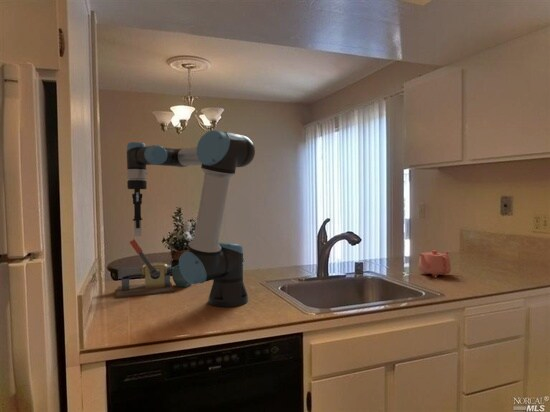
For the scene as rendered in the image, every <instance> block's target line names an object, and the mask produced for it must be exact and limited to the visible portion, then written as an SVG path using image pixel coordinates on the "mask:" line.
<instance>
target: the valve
mask: <svg viewBox="0 0 550 412" xmlns="http://www.w3.org/2000/svg"><path fill="white" fill-rule="evenodd" d="M150 264H151V265H152V266H153V268H154V269H157V270H159V271H160V277H159V278H158V279H152V278H151V276H150V273H151V271H150V270H149V268H148V267H147V265H146V264H145V263H144V264H141V266H135V267H122V268H117V279H118V280H119V279H120V280H121V286H122V291H125V290H129V289H130V285H131V284H130V279H133V278H141V279H142V280H143V279H144V284H145V289H151V288H162V287H166V286H170V282H171V275H172V271H171V268H172V267H171V264H167V263H164V262H161V261H160V262H150Z"/></svg>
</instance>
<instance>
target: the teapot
mask: <svg viewBox="0 0 550 412" xmlns="http://www.w3.org/2000/svg"><path fill="white" fill-rule="evenodd" d="M449 253H450V250H446V251H444V253H441V252H438V250H436V249H433V250H431V251H429V252H427V251H426V252H421V253H418V255H419V260H418V270H419V271H420V272H422V273H424V274H428V275H429V274H430V275H432V276H439V275H440V276H441V275H446V276H447V274H450V273H451V267H452V266H451V261H450V257H449ZM432 276H431V277H432Z"/></svg>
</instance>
